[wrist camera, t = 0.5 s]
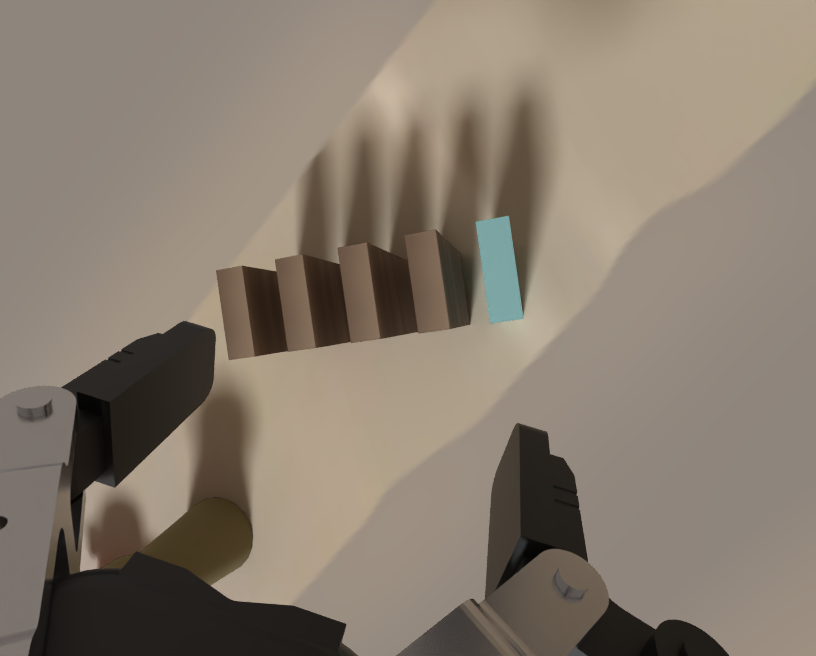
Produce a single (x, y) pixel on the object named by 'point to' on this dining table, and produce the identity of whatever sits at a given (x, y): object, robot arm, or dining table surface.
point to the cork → (203, 541)
